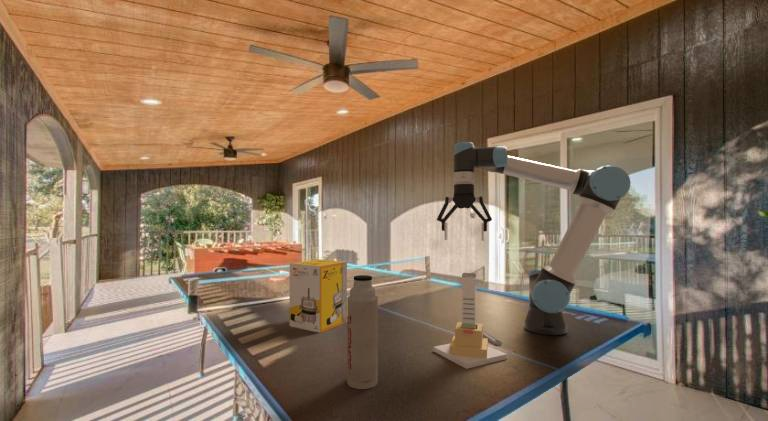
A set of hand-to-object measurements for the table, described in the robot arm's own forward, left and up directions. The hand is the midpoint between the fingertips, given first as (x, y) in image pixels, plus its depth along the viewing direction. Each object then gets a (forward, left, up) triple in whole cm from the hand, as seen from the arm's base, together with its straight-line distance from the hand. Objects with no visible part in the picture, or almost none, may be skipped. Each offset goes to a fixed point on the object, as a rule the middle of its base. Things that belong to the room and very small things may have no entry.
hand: (464, 240), depth 144 cm
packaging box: (+45, -36, -35) cm, 67 cm away
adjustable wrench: (-4, +4, -35) cm, 36 cm away
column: (+14, +19, -27) cm, 36 cm away
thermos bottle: (+52, +21, -35) cm, 66 cm away
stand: (+14, +19, -35) cm, 42 cm away
